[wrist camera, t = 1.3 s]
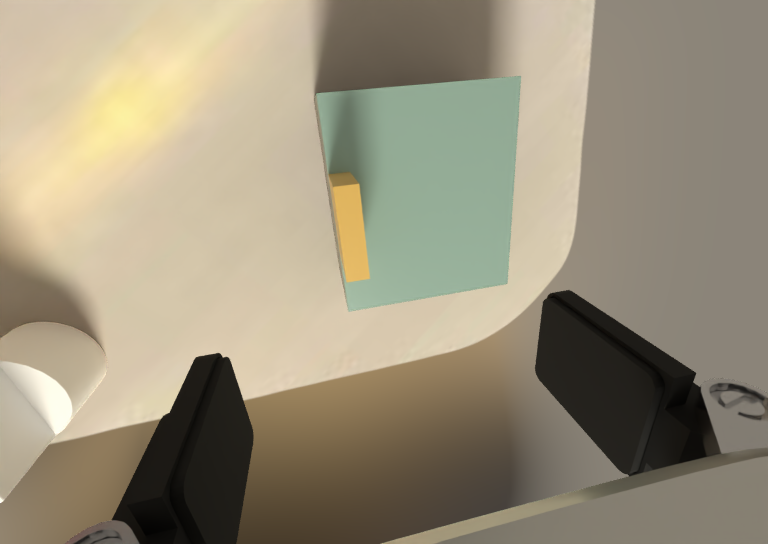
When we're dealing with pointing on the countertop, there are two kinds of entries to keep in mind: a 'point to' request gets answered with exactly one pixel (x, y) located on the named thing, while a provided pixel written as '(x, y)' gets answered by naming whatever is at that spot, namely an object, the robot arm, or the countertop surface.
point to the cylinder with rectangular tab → (41, 390)
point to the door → (421, 186)
